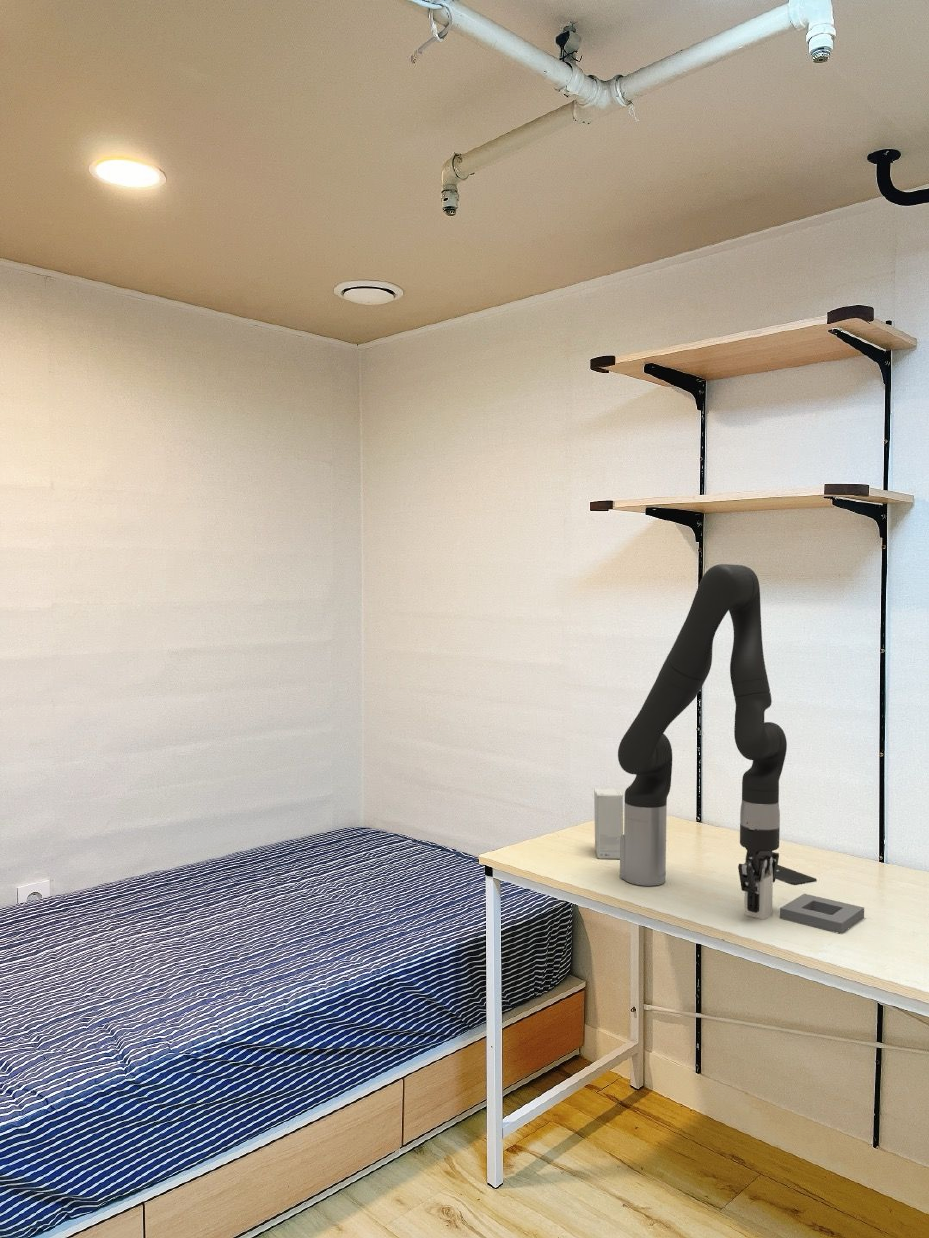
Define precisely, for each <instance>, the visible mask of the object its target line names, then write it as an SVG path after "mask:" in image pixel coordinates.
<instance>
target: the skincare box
mask: <svg viewBox="0 0 929 1238" xmlns="http://www.w3.org/2000/svg"><path fill="white" fill-rule="evenodd" d="M593 792H594V795H593V796H594V797H593V798H594V805H593V806H594V807H593V808H594V851H595V854H596V858H597V859H600V860H601V859H602V860H620V837H621V835H624V795H623V793H622V792H621V790H620V788H594V791H593Z"/></svg>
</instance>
